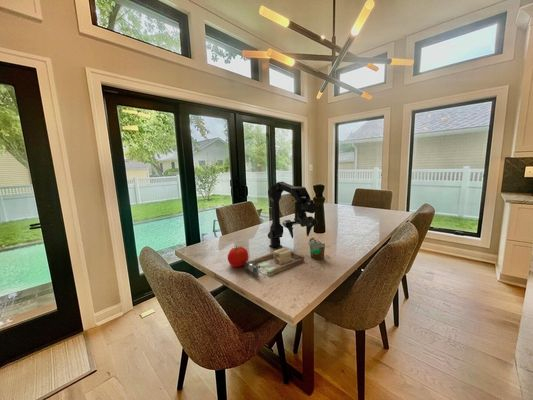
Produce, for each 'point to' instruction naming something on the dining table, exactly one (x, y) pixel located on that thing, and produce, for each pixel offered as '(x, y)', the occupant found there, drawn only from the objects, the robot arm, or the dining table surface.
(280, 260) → the box
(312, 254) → the food container
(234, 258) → the tomato
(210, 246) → the dining table surface
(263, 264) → the bay
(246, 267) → the winch
